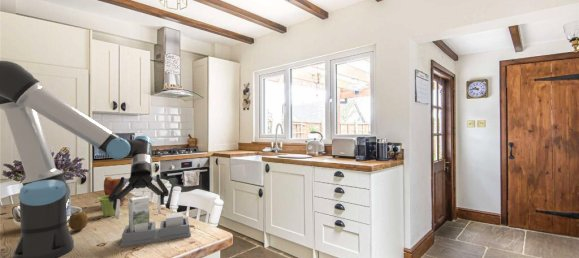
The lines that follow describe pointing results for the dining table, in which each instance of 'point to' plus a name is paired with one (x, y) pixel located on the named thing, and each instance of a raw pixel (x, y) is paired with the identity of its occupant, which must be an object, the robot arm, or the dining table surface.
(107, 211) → the plant pot
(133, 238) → the grey box holder
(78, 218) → the fruit
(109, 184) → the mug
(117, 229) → the dining table surface
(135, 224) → the syrup box
